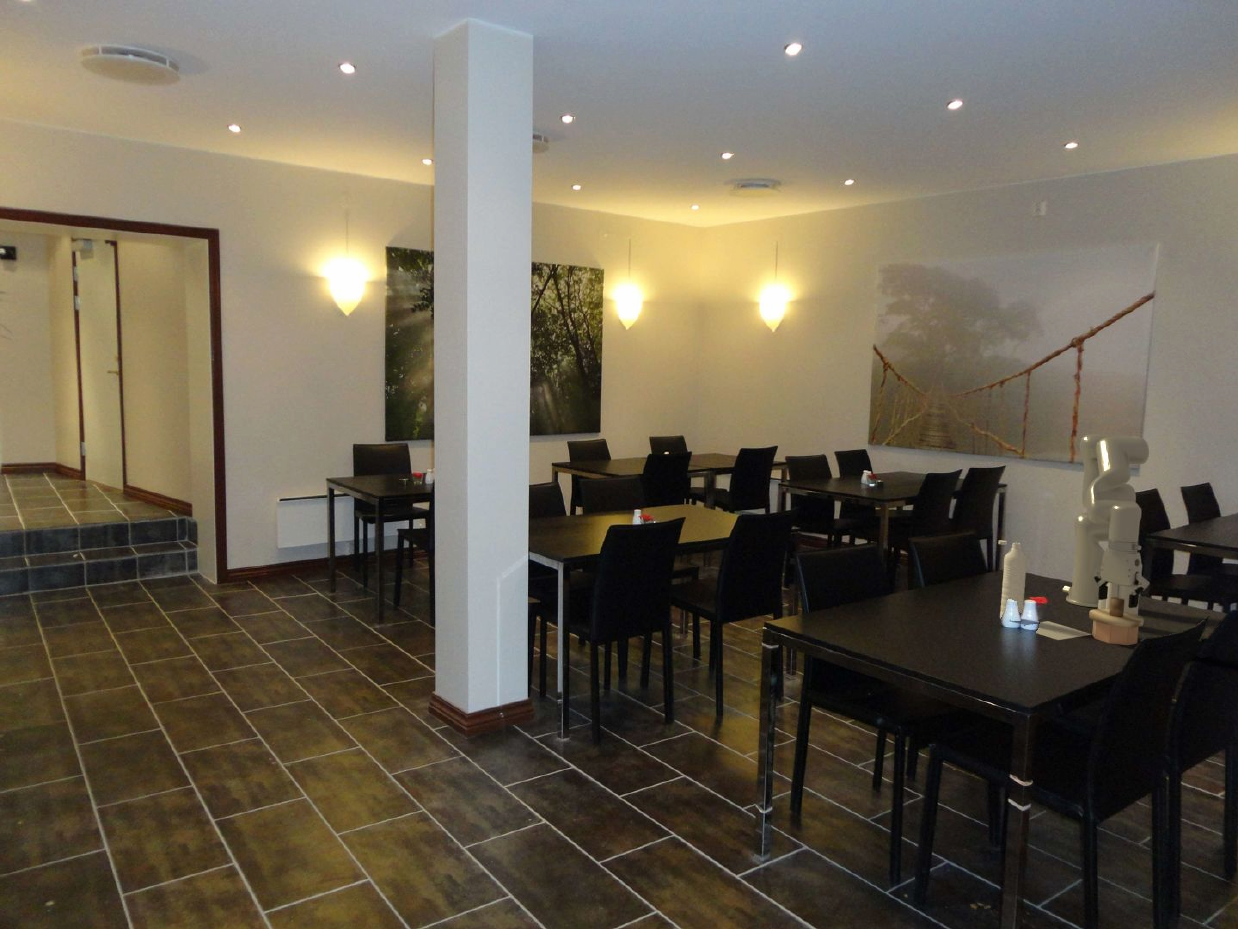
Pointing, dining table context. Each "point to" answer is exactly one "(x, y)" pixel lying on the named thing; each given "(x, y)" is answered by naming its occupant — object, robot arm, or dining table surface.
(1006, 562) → the water bottle
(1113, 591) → the candle
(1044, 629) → the mat
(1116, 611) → the lid
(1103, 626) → the bowl
